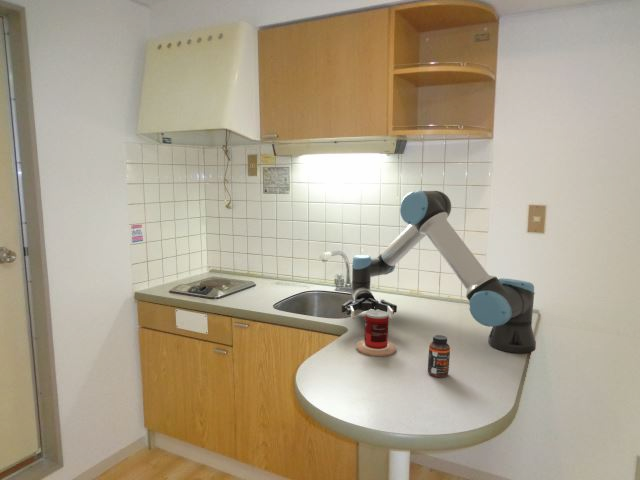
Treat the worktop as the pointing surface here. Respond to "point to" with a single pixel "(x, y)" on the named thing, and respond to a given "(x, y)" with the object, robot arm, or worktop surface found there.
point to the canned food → (376, 329)
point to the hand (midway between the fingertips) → (372, 314)
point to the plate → (376, 352)
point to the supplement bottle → (439, 356)
